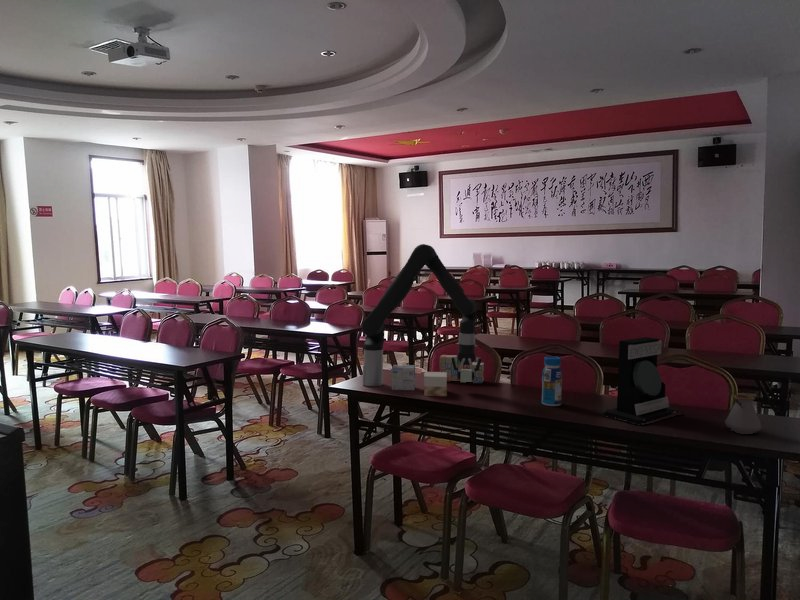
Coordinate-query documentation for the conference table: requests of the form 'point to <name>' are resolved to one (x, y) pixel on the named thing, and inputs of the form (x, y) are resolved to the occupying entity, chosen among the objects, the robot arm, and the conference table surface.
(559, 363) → the beverage bottle
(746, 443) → the conference table surface
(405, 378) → the light bulb box
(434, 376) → the cream block
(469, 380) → the sage cube
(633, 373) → the award
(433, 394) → the oak block
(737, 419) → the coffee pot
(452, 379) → the stack of blocks
